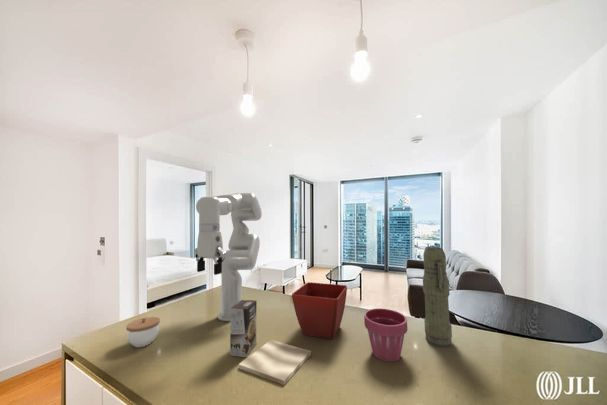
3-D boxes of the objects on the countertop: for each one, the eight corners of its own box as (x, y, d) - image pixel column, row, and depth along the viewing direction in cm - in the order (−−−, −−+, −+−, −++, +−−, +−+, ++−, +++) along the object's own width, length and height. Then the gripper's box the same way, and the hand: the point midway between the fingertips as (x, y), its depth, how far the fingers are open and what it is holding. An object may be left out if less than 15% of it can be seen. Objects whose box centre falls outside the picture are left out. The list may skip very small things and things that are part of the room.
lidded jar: (165, 338, 95) (166, 314, 95) (139, 353, 85) (140, 325, 85) (146, 334, 98) (146, 311, 99) (118, 348, 88) (119, 322, 89)
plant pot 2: (410, 370, 73) (408, 327, 74) (363, 361, 78) (361, 321, 79) (407, 347, 86) (405, 310, 87) (367, 340, 91) (366, 306, 92)
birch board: (270, 343, 90) (270, 339, 90) (310, 354, 82) (310, 350, 82) (238, 368, 75) (238, 364, 75) (284, 385, 67) (284, 380, 67)
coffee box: (246, 357, 81) (246, 309, 82) (229, 355, 82) (229, 307, 83) (257, 343, 90) (257, 300, 91) (241, 342, 91) (241, 299, 92)
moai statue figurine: (442, 333, 96) (437, 245, 98) (459, 349, 84) (454, 249, 87) (419, 333, 96) (415, 245, 99) (434, 349, 85) (429, 249, 87)
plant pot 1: (291, 337, 95) (290, 293, 96) (308, 318, 112) (307, 281, 114) (338, 346, 88) (337, 299, 89) (348, 324, 105) (347, 285, 106)
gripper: (232, 228, 92) (232, 272, 92) (203, 227, 101) (203, 268, 100) (216, 229, 86) (216, 277, 85) (186, 228, 95) (186, 272, 94)
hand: (209, 272), depth 93 cm, fingers open, 9 cm apart
